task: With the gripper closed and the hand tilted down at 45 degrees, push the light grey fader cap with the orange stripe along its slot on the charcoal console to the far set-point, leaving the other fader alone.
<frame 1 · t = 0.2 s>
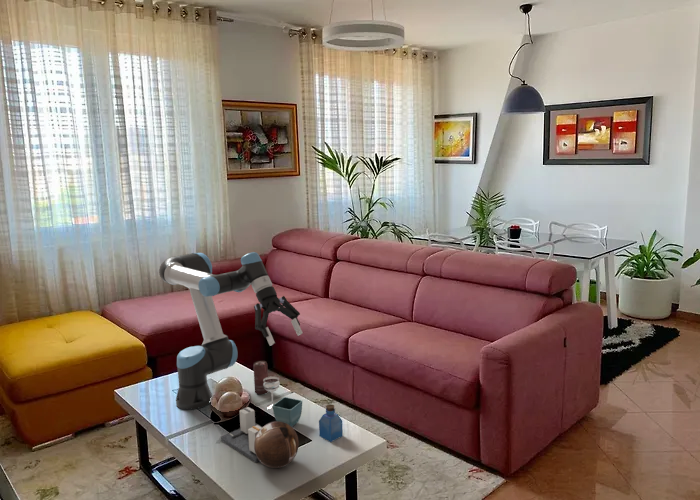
hand: (286, 339, 207), 36 cm above the table, tool tilted 35°, fingers open, 13 cm apart
flower pot: (288, 424, 215), on the table
can: (262, 392, 244), on the table
console: (255, 443, 201), on the table
wooden sphere: (277, 464, 188), on the table
perfume bottle: (331, 436, 205), on the table
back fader: (247, 419, 207), point 6 cm above the table, slide at 0.0 cm
front fader: (256, 438, 193), point 6 cm above the table, slide at 0.0 cm
wineglass: (272, 406, 230), on the table
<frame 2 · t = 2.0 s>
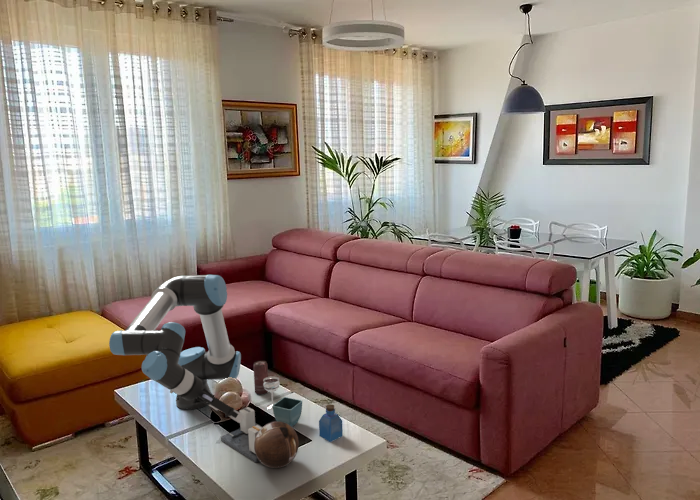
hand: (229, 412, 183), 20 cm above the table, tool tilted 45°, fingers open, 12 cm apart
nothing on the table moved.
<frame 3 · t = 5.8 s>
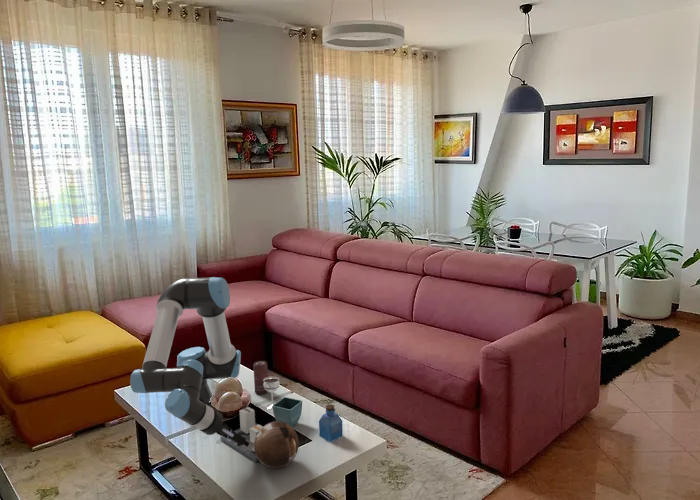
hand: (251, 446, 191), 4 cm above the table, tool tilted 45°, fingers closed
front fader: (258, 438, 193), point 6 cm above the table, slide at 0.6 cm, touching gripper
everything else where it was.
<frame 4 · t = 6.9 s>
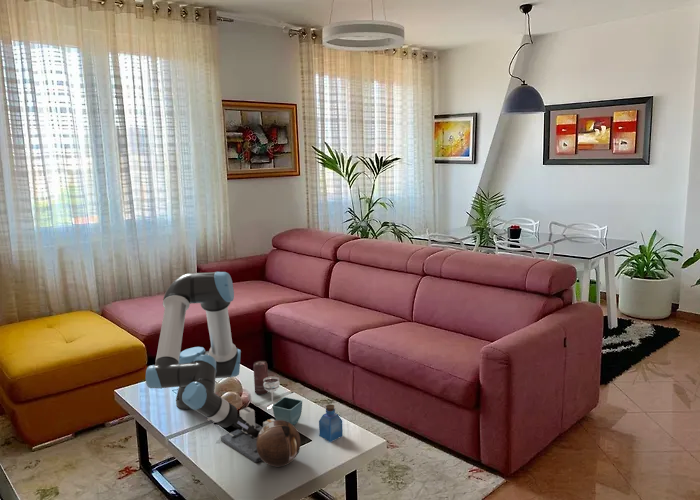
hand: (264, 439, 195), 5 cm above the table, tool tilted 45°, fingers closed
wooden sphere: (278, 463, 188), on the table, touching gripper
front fader: (271, 432, 197), point 6 cm above the table, slide at 6.5 cm, touching gripper
everything else where it was.
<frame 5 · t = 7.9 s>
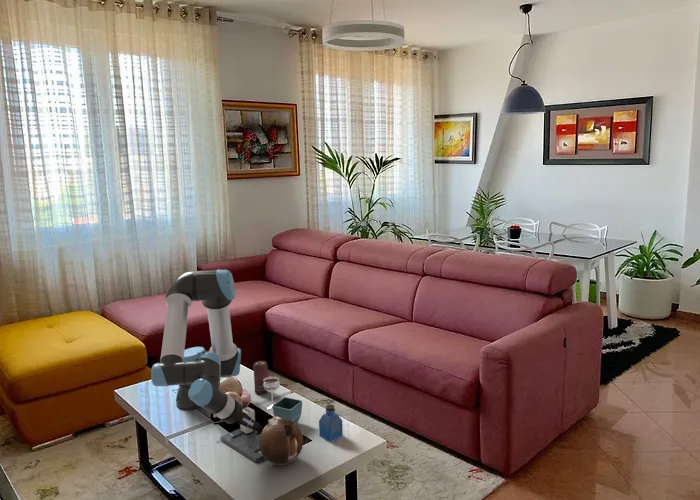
hand: (269, 436, 197), 5 cm above the table, tool tilted 45°, fingers closed
wooden sphere: (280, 462, 188), on the table, touching gripper, hand
front fader: (276, 429, 199), point 6 cm above the table, slide at 8.8 cm, touching gripper
everything else where it was.
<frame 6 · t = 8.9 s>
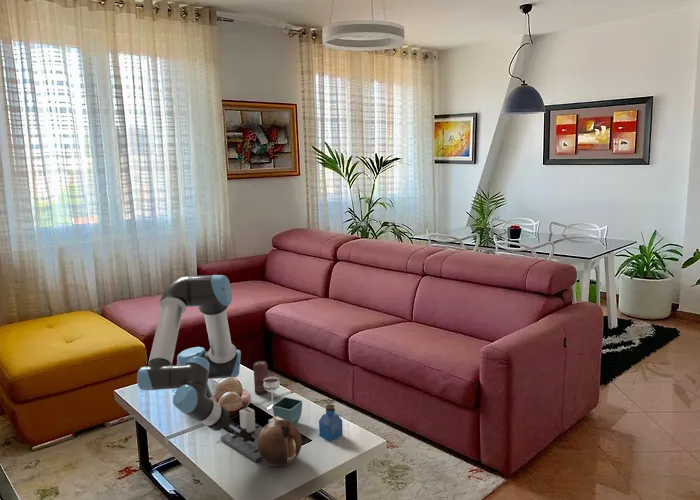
hand: (257, 442, 192), 5 cm above the table, tool tilted 45°, fingers closed
wooden sphere: (280, 463, 188), on the table
front fader: (276, 429, 199), point 6 cm above the table, slide at 8.9 cm
everything else where it was.
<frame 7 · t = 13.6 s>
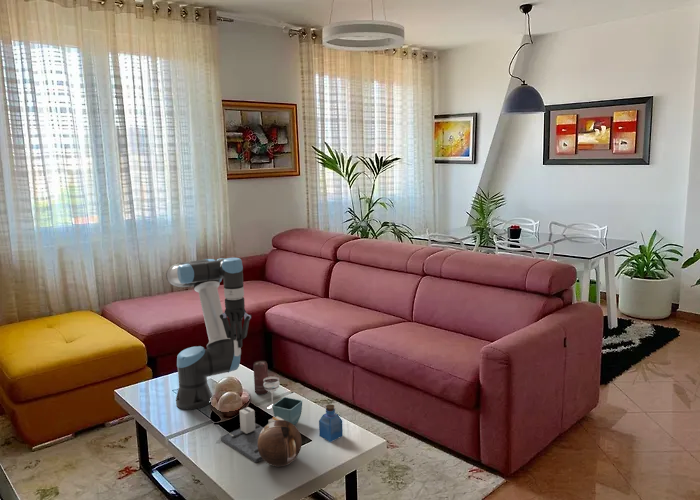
hand: (237, 354, 217), 26 cm above the table, tool pointing down, fingers closed
nothing on the table moved.
at the end: front fader slide at 8.9 cm; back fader slide at 0.0 cm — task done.
